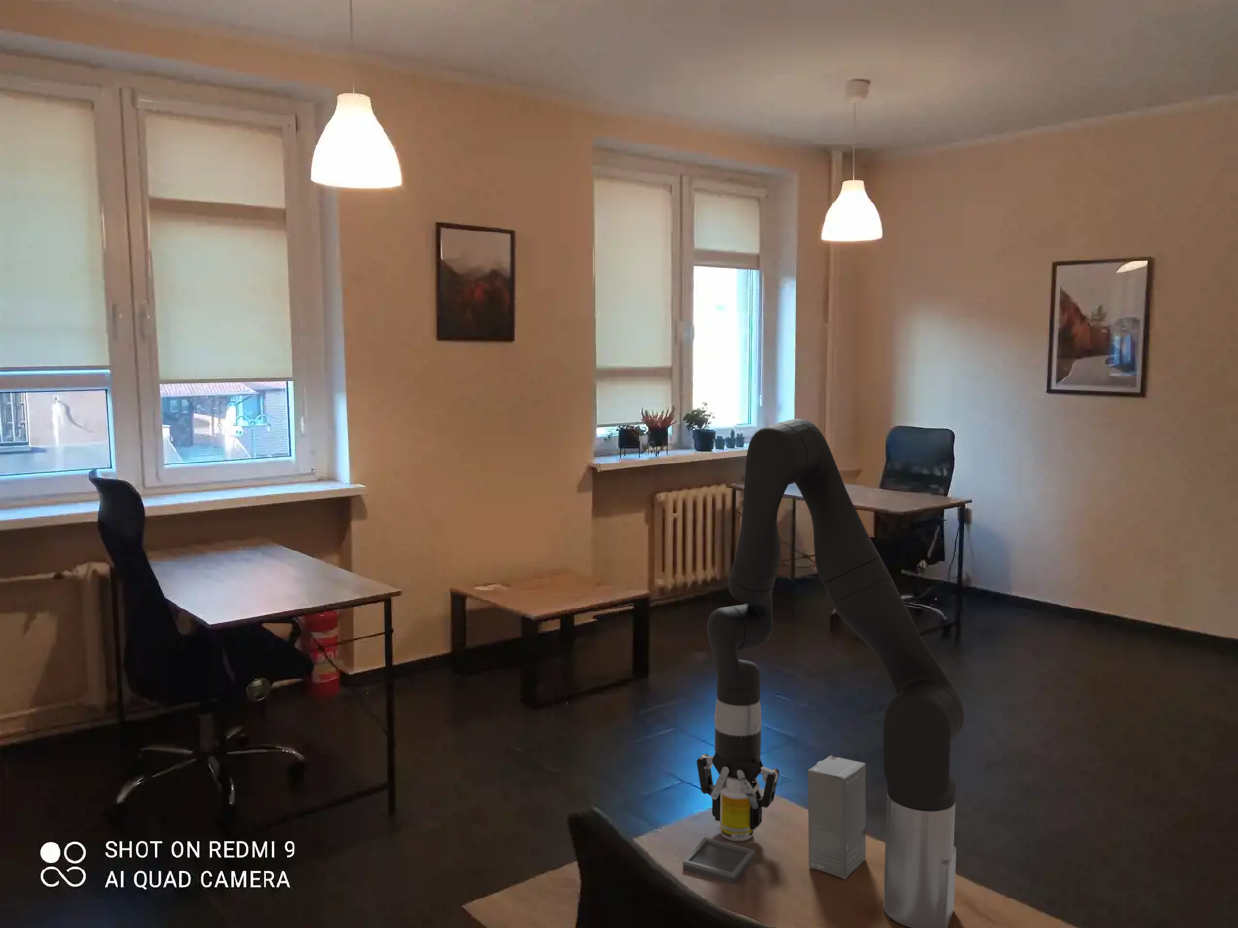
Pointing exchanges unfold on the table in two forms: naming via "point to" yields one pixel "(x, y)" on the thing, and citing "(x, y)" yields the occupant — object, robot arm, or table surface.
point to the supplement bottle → (734, 811)
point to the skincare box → (837, 816)
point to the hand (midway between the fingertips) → (736, 822)
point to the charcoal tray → (719, 860)
